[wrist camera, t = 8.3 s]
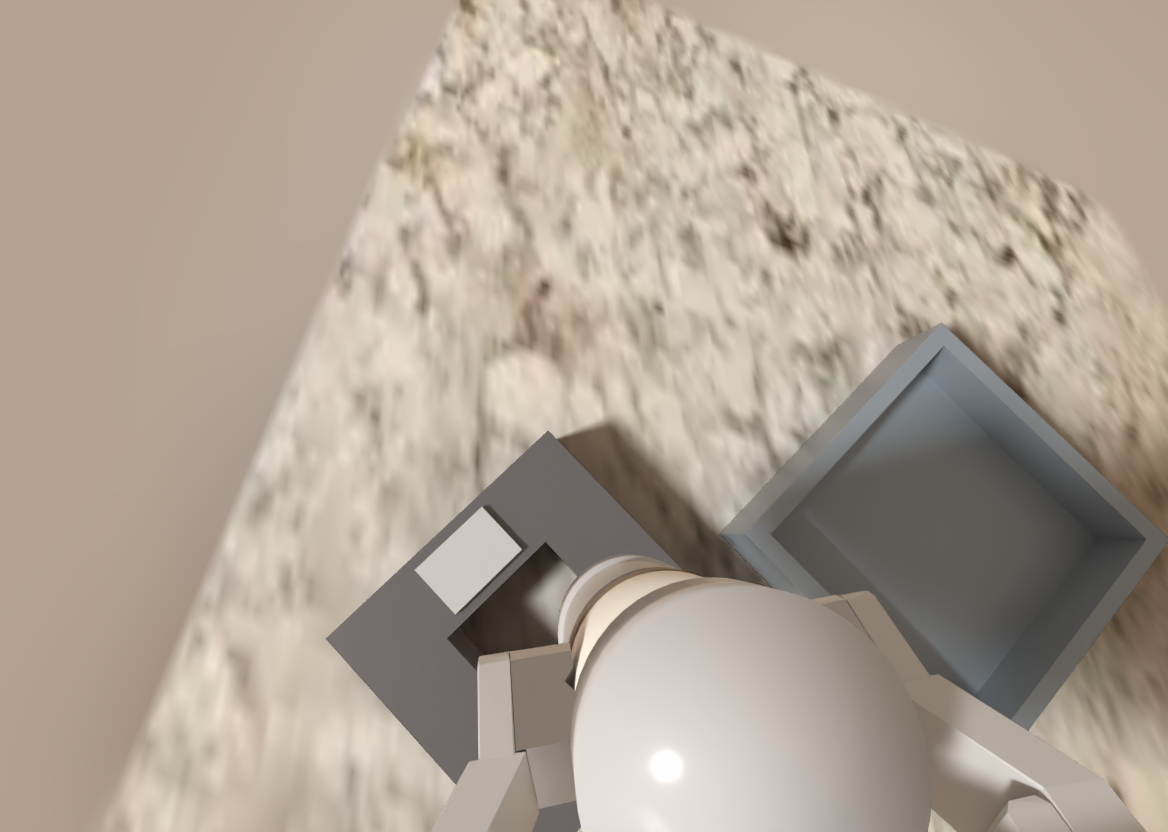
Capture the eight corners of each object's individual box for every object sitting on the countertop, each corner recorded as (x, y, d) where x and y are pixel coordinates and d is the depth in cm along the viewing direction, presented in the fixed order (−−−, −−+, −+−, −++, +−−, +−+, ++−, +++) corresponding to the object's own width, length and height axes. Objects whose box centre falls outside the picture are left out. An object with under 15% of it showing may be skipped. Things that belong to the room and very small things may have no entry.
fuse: (726, 610, 16) (993, 726, 7) (646, 735, 16) (812, 1071, 6) (612, 525, 17) (707, 518, 7) (528, 645, 16) (501, 825, 6)
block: (722, 625, 29) (751, 639, 25) (536, 831, 26) (537, 880, 23) (546, 442, 30) (548, 429, 26) (351, 625, 27) (323, 639, 24)
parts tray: (1099, 538, 31) (1169, 539, 28) (933, 753, 28) (989, 783, 25) (897, 345, 32) (941, 322, 29) (719, 533, 29) (744, 533, 26)
